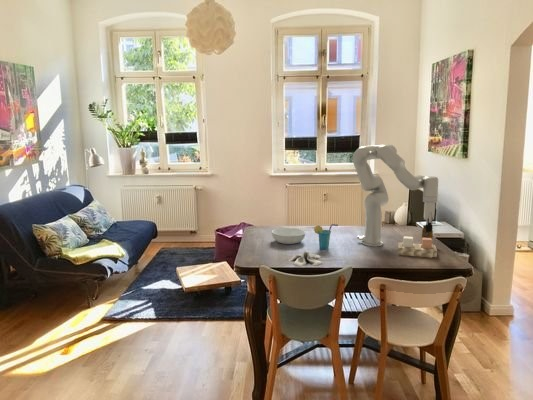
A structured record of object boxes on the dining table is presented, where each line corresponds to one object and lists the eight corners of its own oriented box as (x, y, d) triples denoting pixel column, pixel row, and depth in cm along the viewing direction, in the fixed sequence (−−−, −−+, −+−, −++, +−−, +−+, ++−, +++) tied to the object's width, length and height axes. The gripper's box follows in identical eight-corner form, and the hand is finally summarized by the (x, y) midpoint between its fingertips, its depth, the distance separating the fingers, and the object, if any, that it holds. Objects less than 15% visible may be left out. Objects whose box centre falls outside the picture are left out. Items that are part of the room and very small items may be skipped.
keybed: (398, 254, 236) (398, 247, 236) (398, 248, 248) (398, 242, 247) (436, 257, 231) (437, 250, 230) (434, 251, 242) (435, 244, 241)
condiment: (435, 245, 255) (436, 226, 253) (426, 247, 250) (427, 228, 248) (424, 242, 261) (426, 223, 259) (415, 244, 256) (417, 225, 254)
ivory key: (403, 249, 238) (403, 238, 237) (403, 246, 243) (403, 236, 242) (412, 249, 237) (413, 238, 236) (412, 247, 242) (412, 236, 241)
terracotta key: (421, 250, 236) (422, 239, 235) (421, 248, 240) (422, 237, 239) (431, 251, 234) (432, 240, 233) (430, 248, 239) (431, 238, 238)
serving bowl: (293, 249, 247) (293, 237, 246) (264, 243, 260) (264, 232, 259) (311, 241, 264) (311, 230, 262) (284, 236, 276) (284, 226, 275)
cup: (335, 246, 252) (335, 222, 250) (339, 250, 245) (339, 225, 242) (312, 247, 251) (312, 222, 248) (315, 251, 243) (316, 225, 240)
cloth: (318, 255, 237) (318, 244, 236) (328, 266, 220) (329, 254, 218) (279, 257, 234) (279, 246, 232) (287, 268, 216) (287, 257, 214)
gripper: (422, 196, 240) (420, 228, 243) (423, 201, 226) (422, 234, 229) (436, 197, 238) (434, 228, 241) (438, 201, 224) (437, 235, 227)
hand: (428, 231), depth 235 cm, fingers closed
